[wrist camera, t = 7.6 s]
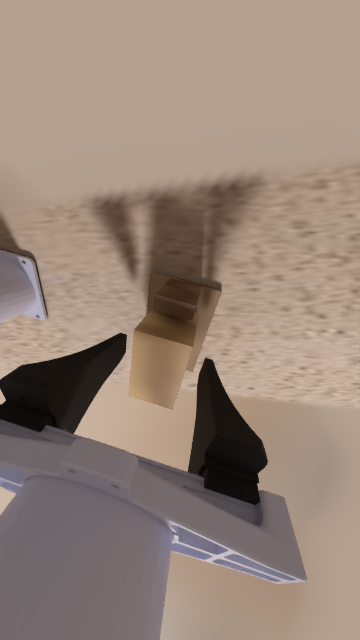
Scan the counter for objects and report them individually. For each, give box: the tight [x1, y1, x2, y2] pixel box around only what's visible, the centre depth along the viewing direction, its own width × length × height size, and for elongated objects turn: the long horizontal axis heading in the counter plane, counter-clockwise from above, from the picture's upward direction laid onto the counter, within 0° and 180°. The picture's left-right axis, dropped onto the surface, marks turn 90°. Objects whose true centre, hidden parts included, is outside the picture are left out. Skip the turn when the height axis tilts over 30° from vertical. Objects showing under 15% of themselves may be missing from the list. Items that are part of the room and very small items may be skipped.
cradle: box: [146, 272, 222, 372], centre depth 16 cm, size 7×11×6 cm, turn 168°
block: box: [129, 308, 199, 409], centre depth 14 cm, size 4×7×5 cm, turn 168°
